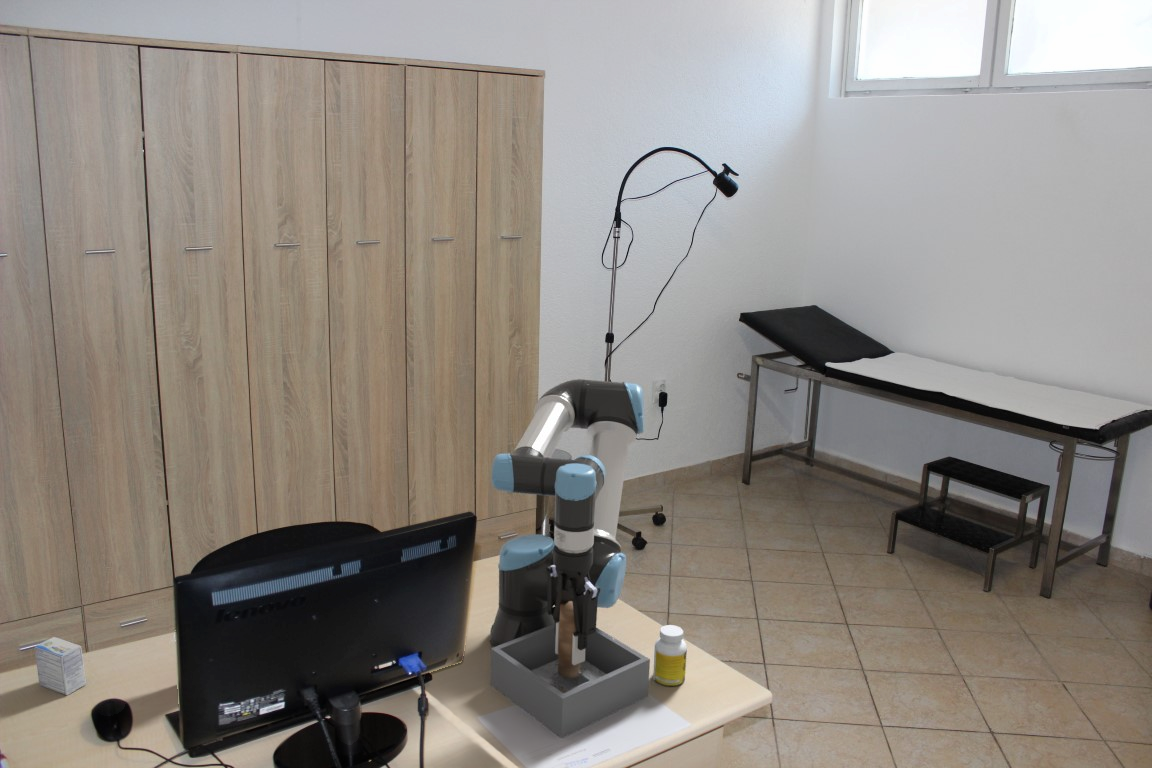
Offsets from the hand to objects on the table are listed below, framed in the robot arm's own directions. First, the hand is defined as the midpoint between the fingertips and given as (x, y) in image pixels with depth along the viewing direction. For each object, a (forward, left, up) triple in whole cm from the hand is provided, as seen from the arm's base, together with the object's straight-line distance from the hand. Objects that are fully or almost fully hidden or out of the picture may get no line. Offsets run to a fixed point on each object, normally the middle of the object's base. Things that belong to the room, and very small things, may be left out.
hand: (569, 656), depth 182 cm
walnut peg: (0, 0, -3) cm, 3 cm away
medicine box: (-63, -76, -9) cm, 99 cm away
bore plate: (0, 0, -7) cm, 7 cm away
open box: (0, 0, -8) cm, 8 cm away
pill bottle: (+9, +19, -9) cm, 23 cm away
